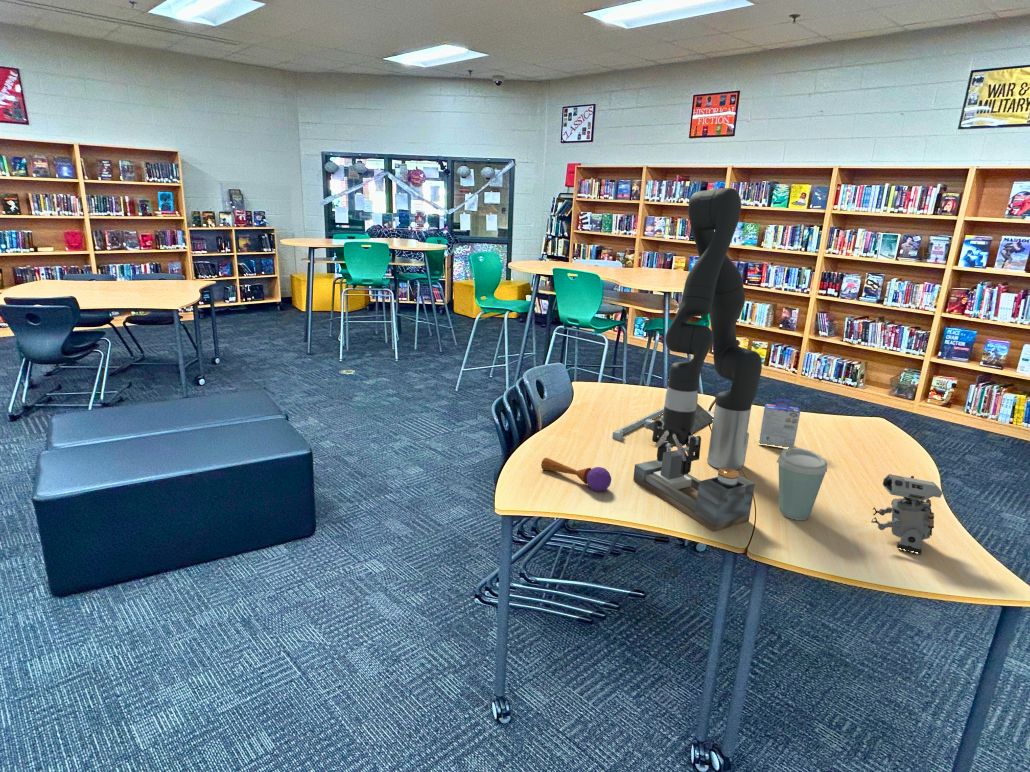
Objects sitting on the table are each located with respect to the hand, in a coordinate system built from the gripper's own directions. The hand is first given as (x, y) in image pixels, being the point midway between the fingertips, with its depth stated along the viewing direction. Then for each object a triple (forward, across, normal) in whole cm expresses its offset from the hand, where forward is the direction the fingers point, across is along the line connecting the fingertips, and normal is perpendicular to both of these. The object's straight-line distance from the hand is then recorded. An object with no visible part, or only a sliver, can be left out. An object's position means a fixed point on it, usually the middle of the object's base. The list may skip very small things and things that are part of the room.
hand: (672, 467), depth 153 cm
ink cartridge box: (+6, +10, -51) cm, 52 cm away
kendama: (+7, +14, +19) cm, 25 cm away
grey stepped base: (+6, -6, 0) cm, 9 cm away
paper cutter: (+7, +34, -32) cm, 47 cm away
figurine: (+6, -40, -29) cm, 50 cm away
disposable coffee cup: (+6, -22, -18) cm, 29 cm away
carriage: (+4, 0, 0) cm, 4 cm away
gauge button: (-2, -17, 0) cm, 17 cm away
